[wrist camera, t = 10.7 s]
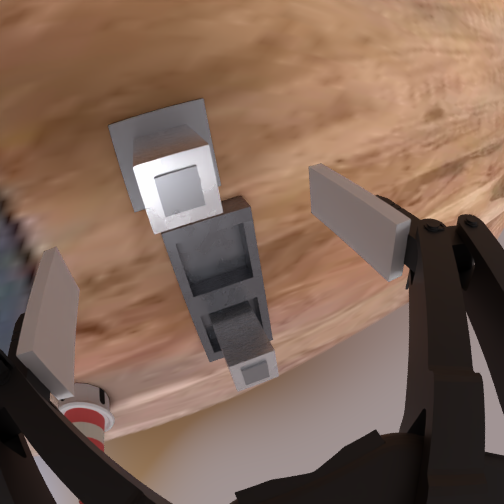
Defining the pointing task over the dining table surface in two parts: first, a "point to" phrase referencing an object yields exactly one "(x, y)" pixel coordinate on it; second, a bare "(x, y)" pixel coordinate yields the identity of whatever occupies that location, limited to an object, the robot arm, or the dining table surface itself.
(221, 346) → the silver square post
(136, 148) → the grey square peg
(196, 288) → the rail
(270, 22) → the dining table surface
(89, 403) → the miniature lighthouse
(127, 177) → the mat
